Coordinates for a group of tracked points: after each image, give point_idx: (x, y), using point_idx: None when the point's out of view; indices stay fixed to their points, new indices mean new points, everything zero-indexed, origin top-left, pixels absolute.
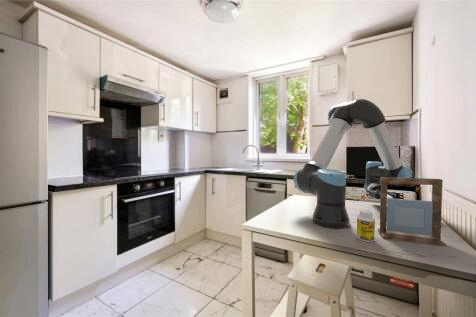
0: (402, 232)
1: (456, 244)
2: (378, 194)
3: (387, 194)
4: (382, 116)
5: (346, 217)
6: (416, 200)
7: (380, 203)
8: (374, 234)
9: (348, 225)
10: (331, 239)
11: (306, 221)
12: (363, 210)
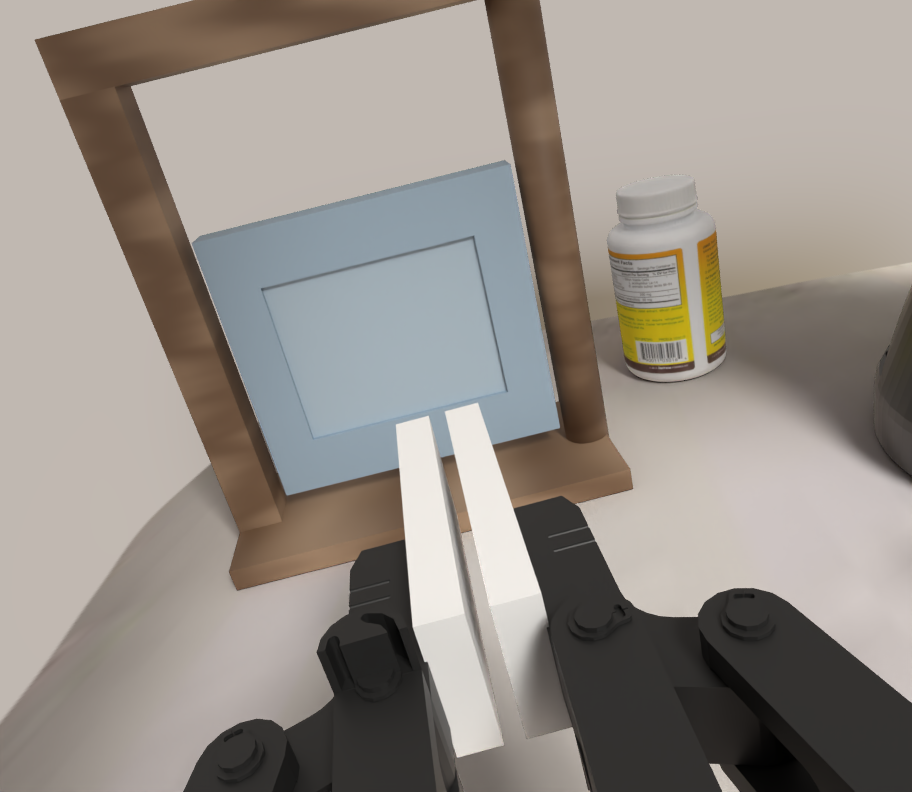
0: (453, 490)
1: (167, 549)
2: (700, 626)
3: (420, 728)
4: None
5: (891, 343)
6: (297, 215)
7: (570, 198)
8: (620, 329)
9: (875, 424)
10: (827, 295)
11: None
12: (674, 184)
